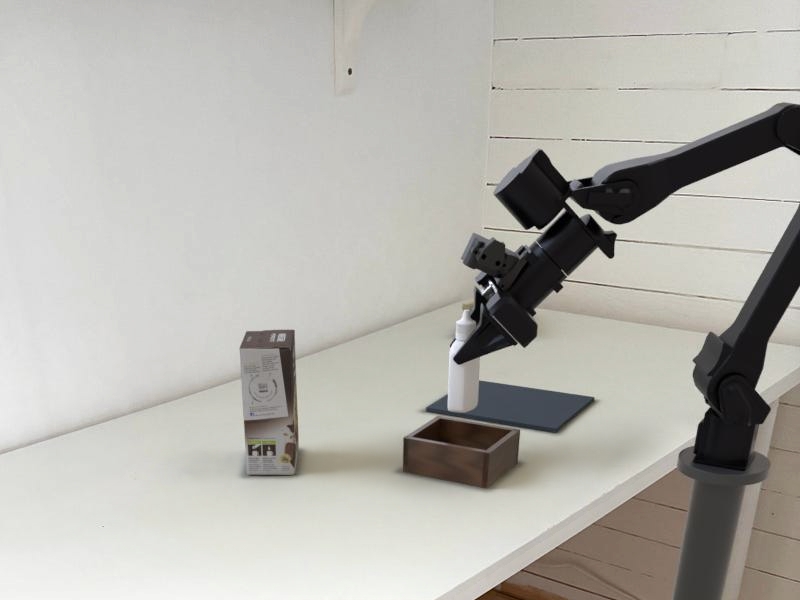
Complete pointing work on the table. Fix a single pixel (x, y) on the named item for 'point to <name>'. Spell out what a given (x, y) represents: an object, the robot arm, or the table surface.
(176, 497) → the table surface
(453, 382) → the eye dropper bottle
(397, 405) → the table surface
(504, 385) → the desk mat
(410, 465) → the desk box
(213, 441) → the table surface
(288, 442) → the coffee box
